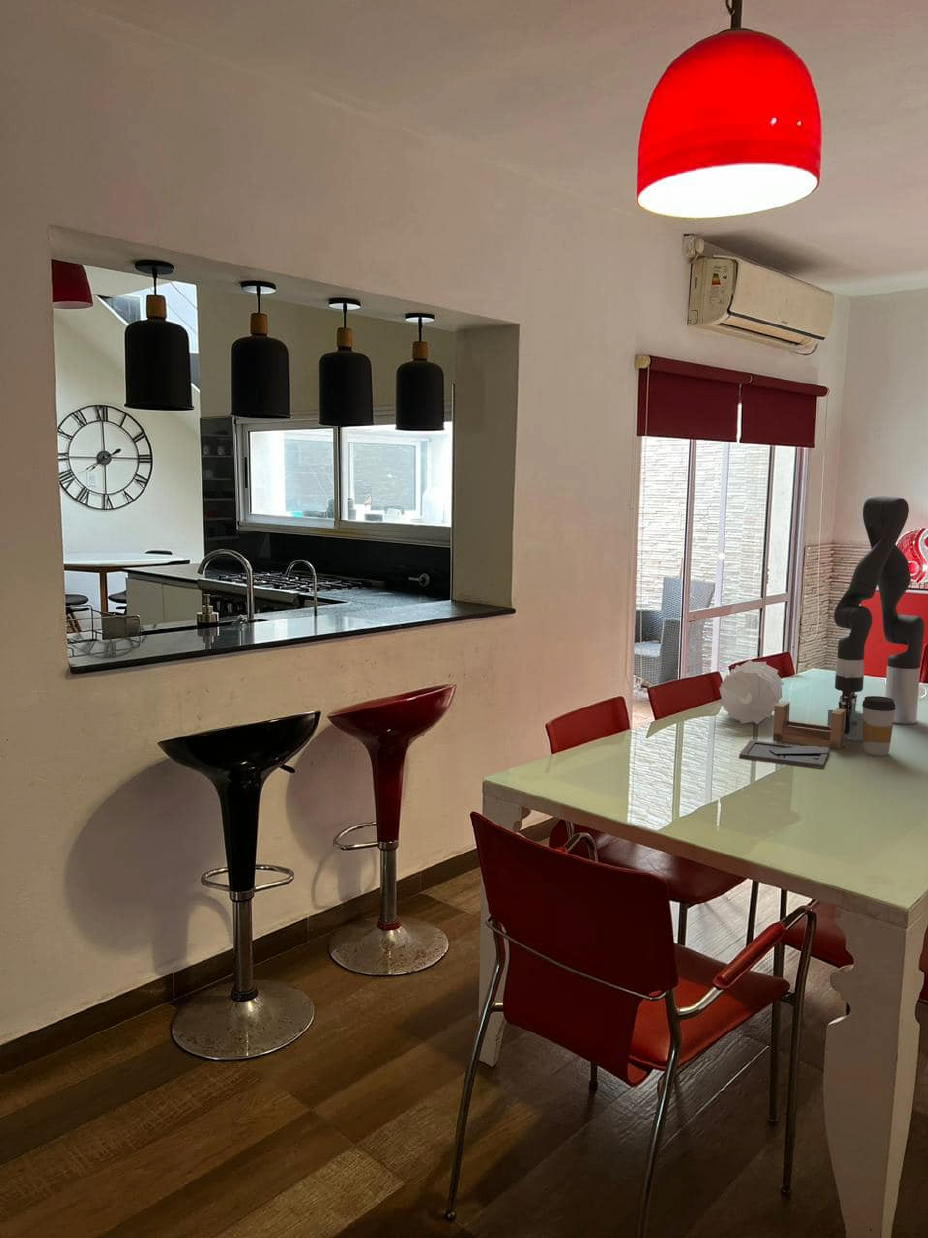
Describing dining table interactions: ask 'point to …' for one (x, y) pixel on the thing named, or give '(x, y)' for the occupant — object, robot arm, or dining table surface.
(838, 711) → the track
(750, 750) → the picture frame
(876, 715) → the coffee cup
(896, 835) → the dining table surface
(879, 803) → the dining table surface
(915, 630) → the robot arm
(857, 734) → the door panel
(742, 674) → the spiral staircase
